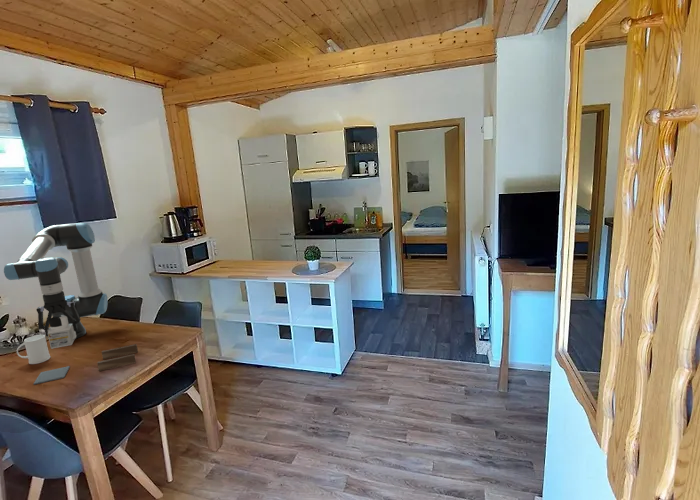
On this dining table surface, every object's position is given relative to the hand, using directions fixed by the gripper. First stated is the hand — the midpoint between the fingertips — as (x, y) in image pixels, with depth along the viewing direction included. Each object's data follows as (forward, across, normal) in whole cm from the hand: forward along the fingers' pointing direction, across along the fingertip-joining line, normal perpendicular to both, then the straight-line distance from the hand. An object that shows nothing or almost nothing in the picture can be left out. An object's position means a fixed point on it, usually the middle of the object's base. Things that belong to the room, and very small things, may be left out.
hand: (63, 339), depth 170 cm
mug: (+16, -18, +23) cm, 34 cm away
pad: (+16, -7, 0) cm, 17 cm away
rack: (+16, +20, -1) cm, 25 cm away
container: (+1, 0, -2) cm, 2 cm away
